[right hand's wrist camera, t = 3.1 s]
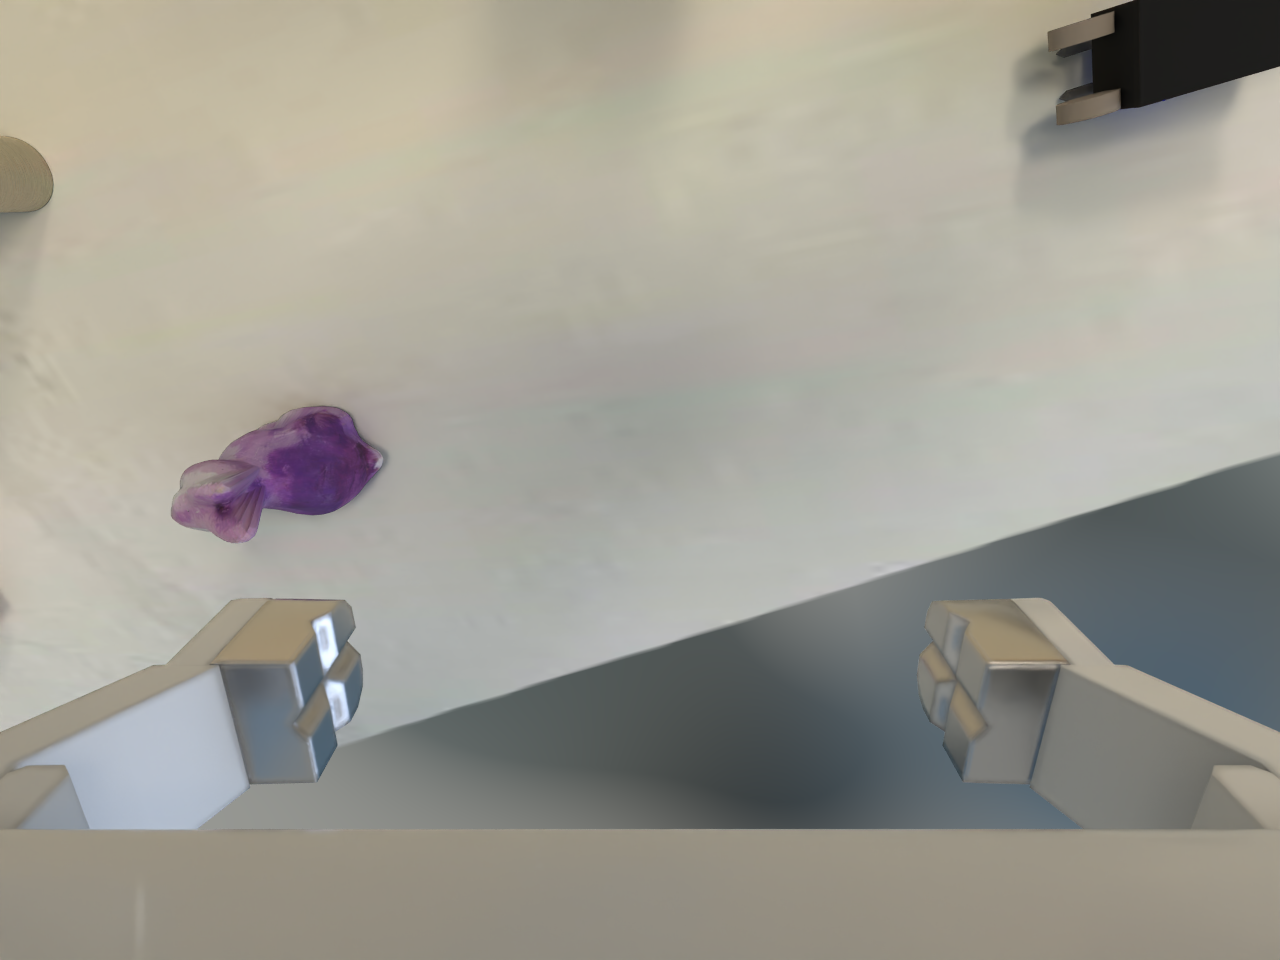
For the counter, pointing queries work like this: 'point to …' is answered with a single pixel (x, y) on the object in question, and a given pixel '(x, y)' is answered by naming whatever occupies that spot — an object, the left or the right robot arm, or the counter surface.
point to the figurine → (277, 474)
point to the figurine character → (1165, 51)
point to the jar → (22, 177)
